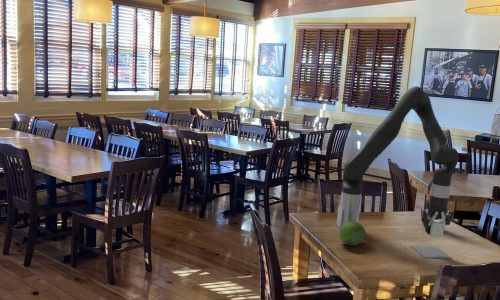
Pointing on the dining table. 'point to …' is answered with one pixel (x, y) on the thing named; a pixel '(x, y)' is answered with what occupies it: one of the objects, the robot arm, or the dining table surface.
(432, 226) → the block
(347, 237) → the fruit
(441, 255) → the mat
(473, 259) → the dining table surface
